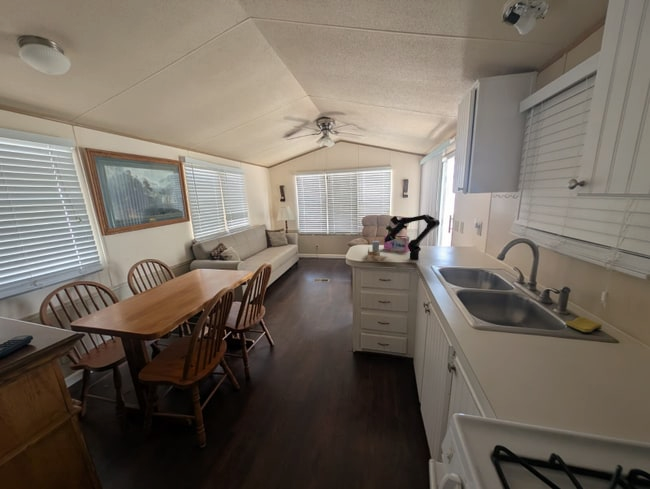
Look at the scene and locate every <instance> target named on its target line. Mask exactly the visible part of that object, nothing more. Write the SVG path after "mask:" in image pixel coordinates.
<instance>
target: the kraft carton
mask: <svg viewBox="0 0 650 489" xmlns="http://www.w3.org/2000/svg"><path fill="white" fill-rule="evenodd" d="M380 253H381V251H379V252H372V251H370V247H368V249H367V261H371V262H372V261H373V262H388V257H387V256H380V255H381V254H380Z"/></svg>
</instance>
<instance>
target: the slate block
mask: <svg viewBox="0 0 650 489" xmlns="http://www.w3.org/2000/svg"><path fill="white" fill-rule="evenodd" d="M371 252H380V241H379V240H372V250H371Z"/></svg>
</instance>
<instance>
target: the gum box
mask: <svg viewBox="0 0 650 489" xmlns="http://www.w3.org/2000/svg"><path fill="white" fill-rule="evenodd" d="M386 236H387V235H384V236H383V250H387V251H395V252H400V253H401V252H402V253H406V252H410V251H409V248H408V243H409V242H410V236H406V235H398V234H397V235H396V236H395V239H394V240H391V241H388V242H384V241H385V240H384V239H385V238H386Z"/></svg>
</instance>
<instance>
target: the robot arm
mask: <svg viewBox="0 0 650 489" xmlns="http://www.w3.org/2000/svg"><path fill="white" fill-rule="evenodd" d="M418 221H424V222H425V224H426V227H425V228H424V230H423V231H422V232H421V233H420V234H418V236H417V237H416V238H414V239H411V240H409V243H408V248H409V251H408V252H410V253H409V260H414V261H415V260H417V261H418V260H419V256H420V252H421V251H422V250H421V247H420V246H421V245H420V243H421V242H422V241H423V240H424V239H425V238H426V237H427V235H429V234H430V232H432V231H433V230H435V229H436V228H437V227H439V226H440V220H439V219H437V218H435V217H432V216H431V215H430V214H428V213H425V214H422V215H417V216H412V217H411V216H406V217H402V218H401V217H400V218H399V217H398V216H397V215H394V216H393V217H392V218H391V219H390V222H391V223H392V224H393V226H394V227H392V226H391V225H387V224H386V226H385V229H386V230H387V234H386V235H385V236H386V238H385V239H384V238H383V243H384V242H388V241H391V240H394V239H395V236H396V235H397V236H398V234H400V233H401V231H402V230H404V229H405V230H407V228H408V226H407V225H409V224H411V223H413V222H418ZM384 240H385V241H384Z"/></svg>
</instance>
